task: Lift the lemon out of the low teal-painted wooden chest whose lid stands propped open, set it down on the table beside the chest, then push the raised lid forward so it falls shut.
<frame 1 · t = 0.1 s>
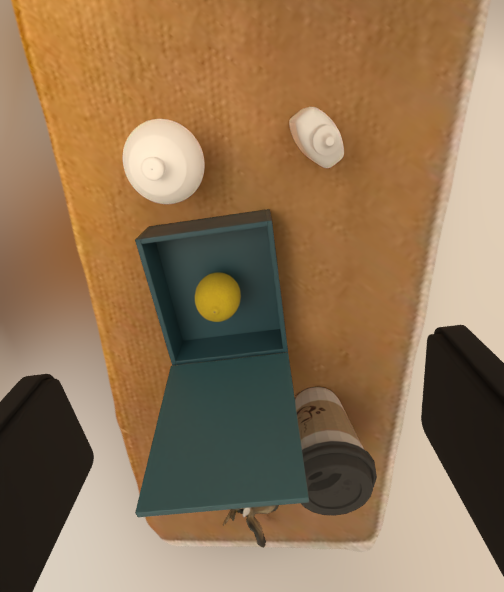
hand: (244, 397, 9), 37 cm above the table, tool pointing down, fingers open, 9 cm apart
eye dropper bottle: (309, 135, 40), on the table
chest: (221, 281, 48), on the table
spinning top: (178, 156, 41), on the table
lemon: (220, 282, 48), resting on chest
lid: (226, 420, 39), point 15 cm above the table, hinge at 98.0°
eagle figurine: (254, 500, 68), on the table
coffee cup: (315, 403, 57), on the table
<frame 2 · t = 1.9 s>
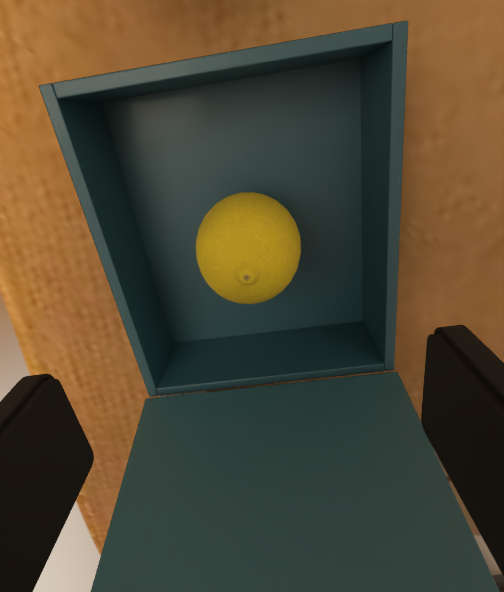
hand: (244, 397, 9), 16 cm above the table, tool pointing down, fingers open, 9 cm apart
chest: (249, 223, 23), on the table
lemon: (249, 225, 23), resting on chest
lid: (280, 565, 14), point 15 cm above the table, hinge at 98.0°
coffee cup: (405, 450, 33), on the table
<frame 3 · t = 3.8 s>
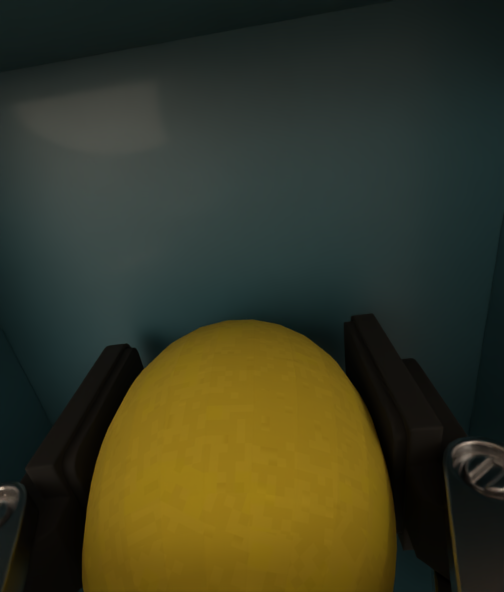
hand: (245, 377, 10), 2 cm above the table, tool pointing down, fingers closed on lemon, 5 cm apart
chest: (247, 342, 11), on the table
lemon: (246, 350, 11), resting on chest, touching gripper
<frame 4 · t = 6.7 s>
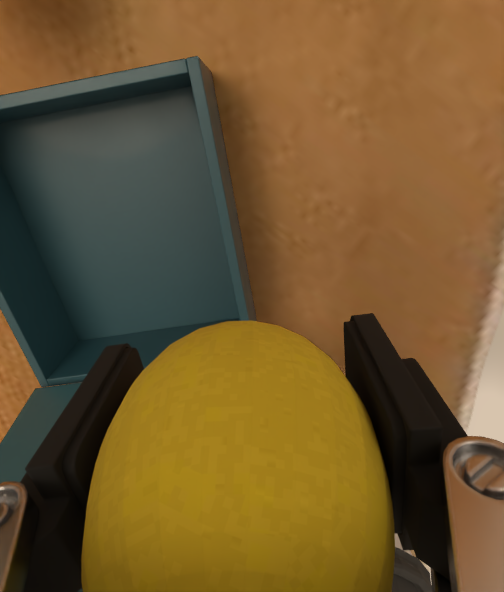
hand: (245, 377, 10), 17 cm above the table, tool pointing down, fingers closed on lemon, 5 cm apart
chest: (133, 229, 26), on the table
lemon: (246, 350, 11), point 16 cm above the table, touching gripper
lid: (99, 522, 17), point 15 cm above the table, hinge at 98.0°
coffee cup: (314, 440, 35), on the table
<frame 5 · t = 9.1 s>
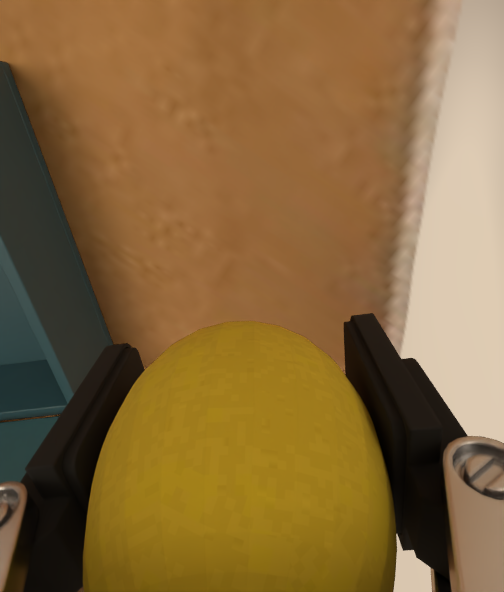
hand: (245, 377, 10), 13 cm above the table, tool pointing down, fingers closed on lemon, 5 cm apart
lemon: (247, 351, 11), point 11 cm above the table, touching gripper
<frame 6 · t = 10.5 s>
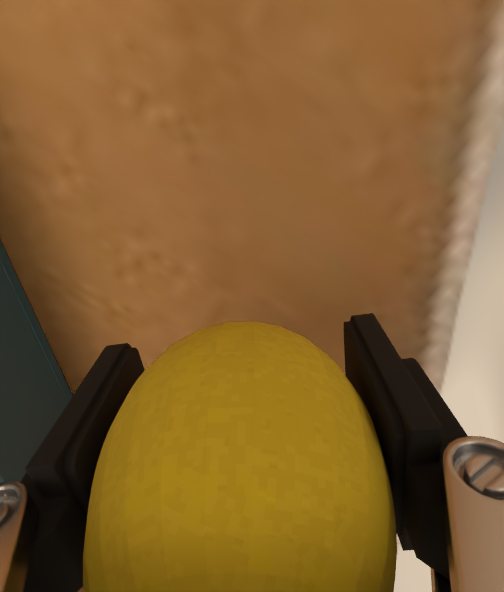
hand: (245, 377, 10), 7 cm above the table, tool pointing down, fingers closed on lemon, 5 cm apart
lemon: (247, 351, 11), point 6 cm above the table, touching gripper
when the fingers open (1 cm above the table, at t = 12.6 s): lemon stays where it is, on the table.
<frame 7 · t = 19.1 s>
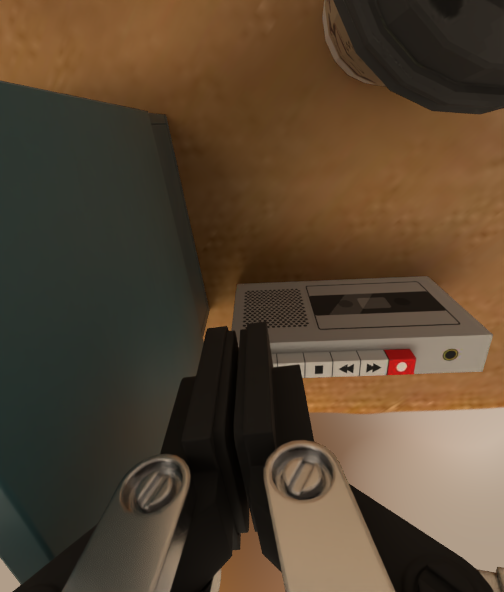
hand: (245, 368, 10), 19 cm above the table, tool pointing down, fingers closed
cassette player: (330, 293, 30), on the table
chest: (83, 239, 28), on the table
lid: (146, 318, 14), point 15 cm above the table, hinge at 94.4°
coffee cup: (381, 15, 22), on the table
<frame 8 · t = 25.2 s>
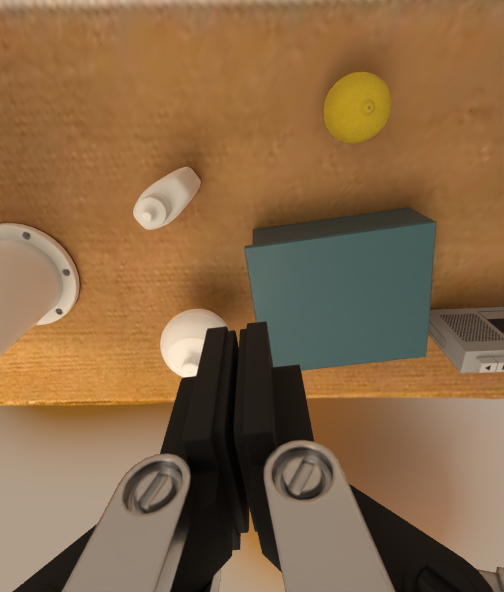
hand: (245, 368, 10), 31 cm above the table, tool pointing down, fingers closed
eye dropper bottle: (177, 189, 39), on the table
cassette player: (488, 315, 45), on the table
chest: (333, 281, 43), on the table
spinning top: (205, 311, 45), on the table
lemon: (345, 110, 35), on the table
lid: (340, 304, 38), point 6 cm above the table, hinge at -0.1°
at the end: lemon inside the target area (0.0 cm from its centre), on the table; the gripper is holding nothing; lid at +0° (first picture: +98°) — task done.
